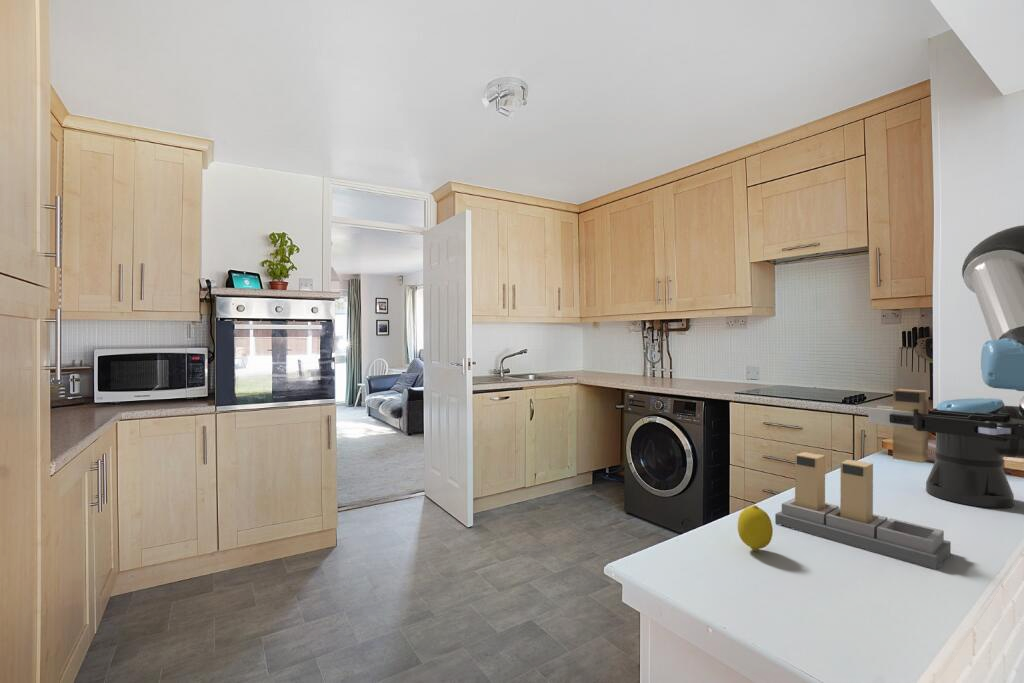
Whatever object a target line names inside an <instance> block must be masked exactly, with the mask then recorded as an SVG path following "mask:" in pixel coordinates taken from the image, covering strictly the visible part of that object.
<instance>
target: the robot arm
mask: <svg viewBox="0 0 1024 683" xmlns="http://www.w3.org/2000/svg"><path fill="white" fill-rule="evenodd" d="M961 276H962V279H963V283H964V284H965V286H966V287H967V289H968V290H969V291H971V292H973V293H974V294H975V295H976V298H977V301H978V304H979V307H980V310H981V312H982V315H983V318H984V321H985V324H986V327H987V330H988V332H989V335H990V338H991V339H990V340H987V341H985V342H984V343H983V345H982V348H981V352H980V369H981V378H982V380H983V382H984V384H985V385H987V386H988V387H989V388H992V389H993V388H994V389H1003V390H1013V391H1014V390H1015V391H1017V392H1024V224H1023V225H1017V226H1013V227H1009V228H1006V229H1003V230H1000V231H997V232H996V233H994V234H991V235H990V236H988V237H986V238H985V239H983V240H982V241H980V242H979V243H978V244H977V245H976V246H974V248H972V249H971V251H969V253H968V254H967V256H965V259H964V260H963V264H962V267H961ZM867 414H868V419H867V420H868V421H867V422H868V424H875V425H883V426H892V427H893V426H899V427H908V428H915V430H917V431H928V433H929V432H930V433H935V460H934V463H933V465H932V467H931V470H930V472H929V475H928V477H927V479H926V482H925V491H926V493H928V494H929V495H931V496H932V497H935V498H939V499H941V500H945V501H948V502H953V503H957V504H962V505H968V506H969V505H970V506H974V507H980V508H981V507H983V508H995V509H996V508H998V509H999V508H1000V509H1002V508H1004V509H1005V508H1006V509H1007V508H1011V507H1014V504H1015V503H1014V502H1015V499H1014V498H1015V497H1014V496H1015V495H1014V493H1013V490H1012V488H1011V486H1010V483H1009V481H1008V477H1007V475H1006V473H1005V471H1004V458H1014V459H1024V395H1023V396H1022V397H1021V398H1020V399H1019V406H1017V405H1005V403H1004V400H1002V399H1000V398H989V397H988V398H984V397H983V398H982V397H980V398H979V397H977V398H975V397H974V398H956V399H955V398H954V399H948V400H944V401H942V402H939V403H938V404H937V405H936V408H933V409H928V414H920V413H918V409H913V412H911V411H900V410H893V406H887V405H886V406H885V405H877V406H876V407H868V413H867Z"/></svg>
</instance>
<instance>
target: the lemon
mask: <svg viewBox="0 0 1024 683" xmlns="http://www.w3.org/2000/svg"><path fill="white" fill-rule="evenodd" d="M773 529H774V528H773V524H772V520H771V517H770V516H769V515H768V513H767V512H766V511H765V510H764V509H762V508H761V507H758V505H755V504H753V505H751V506H749V507H746V508H744V509H743V510H742V511H741V512H740V513H739V517H738V520H737V531H738V535H739V538H740V540H741V541H742V543H744V544H745V545H746V546H748V547H749V548H750V549H751V550H752V551H754V552H757V551H758V550H760V549H763V548H765V547H767V546H768V545H769V544H770V543H771V541H772V538H773V531H774V530H773Z"/></svg>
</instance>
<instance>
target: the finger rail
mask: <svg viewBox="0 0 1024 683" xmlns="http://www.w3.org/2000/svg"><path fill="white" fill-rule="evenodd" d="M794 457H795V458H794V462H795V463H794V475H795V476H794V478H795V479H794V497H793V498H791V499H789V500H787V501H785V502H782V503H781V511H779V512H777V513H775V516H774V517H775V518H774V519H775V521H774V522H775V523H777V524H776V525H778V524H781V525H784V526H783V527H785V526H787V527H786V528H788V527H791V528H790V529H792V528H794V529H793V530H795V529H797V530H796V531H799V530H801V531H800V532H802V531H804V533H806V532H807V534H809V533H811V534H810V535H813V534H814V536H816V535H818V536H817V537H820V536H821V538H823V537H825V538H824V539H827V538H828V540H830V539H831V541H834V542H838V543H841V544H845V545H848V546H852V547H856V548H859V549H863V550H867V551H870V552H873V553H877V554H880V555H884V556H886V555H887V556H886V557H890V558H893V559H897V560H900V561H905V562H908V563H911V564H915V565H918V566H922V567H926V568H929V569H932V570H935V571H936V570H937V569H938V568H939V567H940V566H941V565H942V563H943V562H945V560H946V559H947V558H946V557H947V556H948V557H949V556H950V554H951V551H952V550H951V549H952V547H951V543H952V542H951V541H950V540H945V539H944V538H945V536H944V535H945V534H944V531H945V530H942V529H937V528H934V527H930V526H927V525H921V524H918V523H913V522H908V521H905V520H900V519H897V518H892V517H890V518H888V517H887V516H884V515H879V514H875V513H874V512H873V511H874V463H871V462H865V461H859V460H853V459H846V460H843V461H841V462H840V497H839V498H840V504H839V505H840V507H839V505H836V504H832V503H827V502H826V455H825V454H824V455H822V454H818V453H813V452H806V451H803V452H800V453H795V455H794ZM775 523H774V524H775ZM781 525H780V526H781ZM940 564H941V565H940Z"/></svg>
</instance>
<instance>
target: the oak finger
mask: <svg viewBox="0 0 1024 683" xmlns="http://www.w3.org/2000/svg"><path fill="white" fill-rule="evenodd" d="M892 407H893V410H900V411H911V412H913V409H918V413H920V414H928V410H929V390H920V389H904V388H899V389H893V390H892ZM892 459H893V460H901V461H905V462H906V461H907V462H914V463H918V464H923V463H925V462H926V461H928V460H929V432H928V431H917V430H915V428H908V427H899V426H892Z"/></svg>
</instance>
